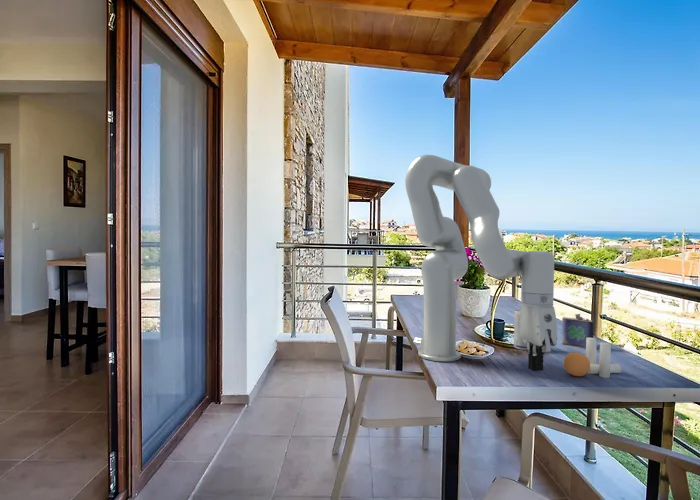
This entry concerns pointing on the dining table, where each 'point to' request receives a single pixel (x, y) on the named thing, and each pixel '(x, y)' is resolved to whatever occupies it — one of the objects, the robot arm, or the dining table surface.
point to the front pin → (613, 368)
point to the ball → (576, 364)
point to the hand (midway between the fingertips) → (535, 369)
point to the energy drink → (518, 333)
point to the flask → (576, 331)
